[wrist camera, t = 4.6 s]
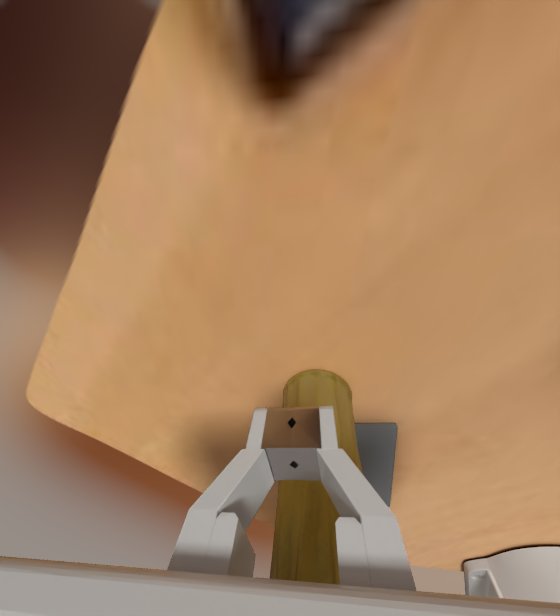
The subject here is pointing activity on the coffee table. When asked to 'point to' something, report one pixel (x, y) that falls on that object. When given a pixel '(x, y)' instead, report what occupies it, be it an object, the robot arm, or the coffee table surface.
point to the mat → (377, 455)
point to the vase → (312, 489)
